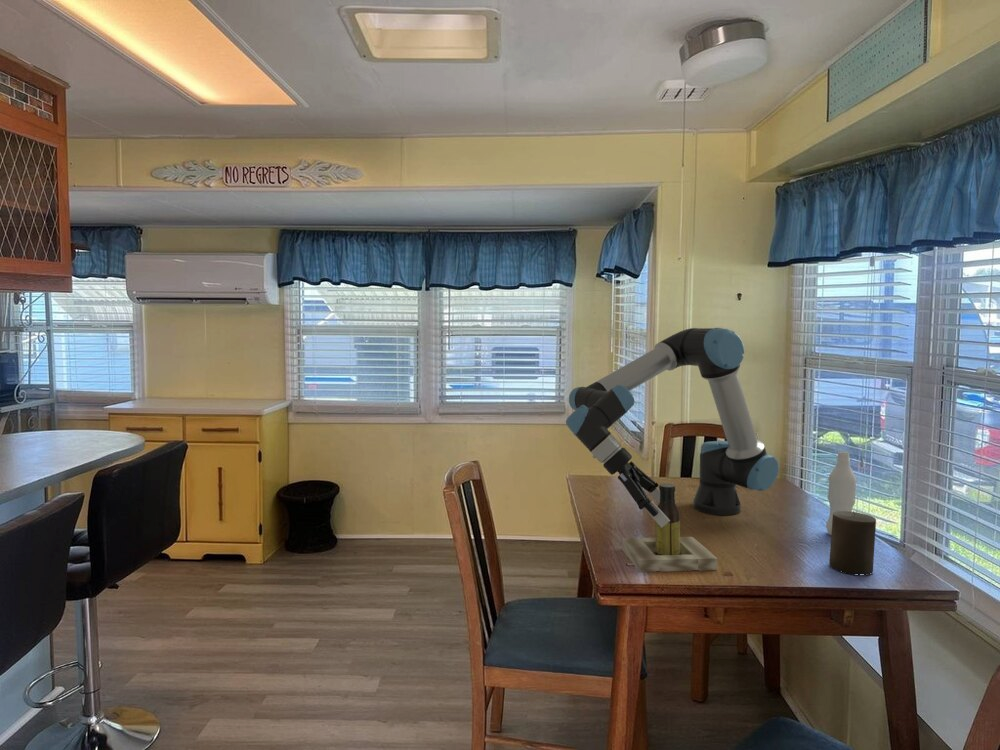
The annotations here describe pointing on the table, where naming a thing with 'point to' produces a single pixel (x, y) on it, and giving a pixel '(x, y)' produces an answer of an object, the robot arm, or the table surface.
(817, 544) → the table surface
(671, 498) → the sauce bottle
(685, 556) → the birch stand
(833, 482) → the water bottle
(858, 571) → the pillar candle
